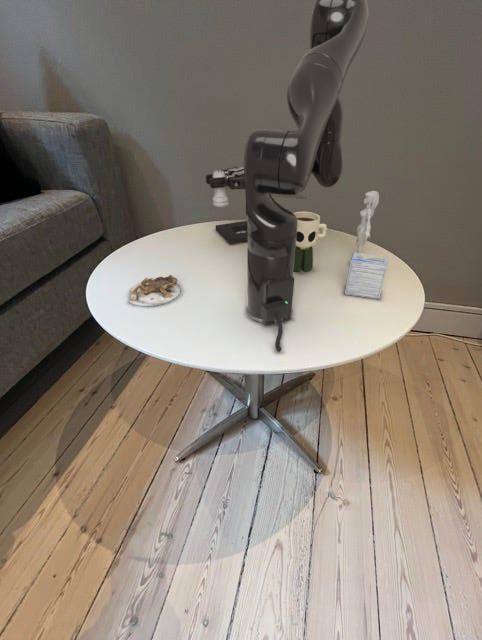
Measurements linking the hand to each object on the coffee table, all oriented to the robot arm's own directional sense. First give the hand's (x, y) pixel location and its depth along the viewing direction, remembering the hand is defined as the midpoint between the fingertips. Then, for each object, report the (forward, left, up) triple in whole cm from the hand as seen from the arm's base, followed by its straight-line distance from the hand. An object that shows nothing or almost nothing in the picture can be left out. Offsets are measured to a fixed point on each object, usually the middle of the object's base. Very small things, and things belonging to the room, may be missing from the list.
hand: (208, 181), depth 99 cm
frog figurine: (-21, +22, -17) cm, 35 cm away
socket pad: (+4, -11, -16) cm, 20 cm away
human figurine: (-27, -31, -17) cm, 44 cm away
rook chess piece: (0, -3, -6) cm, 7 cm away
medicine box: (-40, -23, -17) cm, 49 cm away
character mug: (-23, -16, -17) cm, 32 cm away
